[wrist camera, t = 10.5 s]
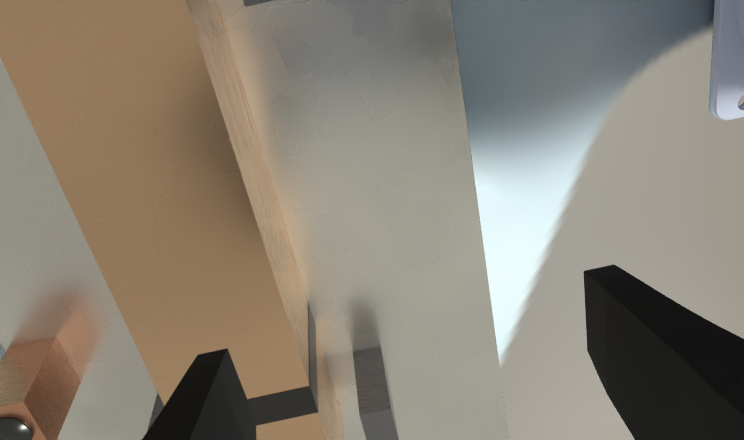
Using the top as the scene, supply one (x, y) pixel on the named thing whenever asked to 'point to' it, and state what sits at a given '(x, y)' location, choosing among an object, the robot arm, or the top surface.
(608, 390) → the robot arm
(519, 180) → the top surface
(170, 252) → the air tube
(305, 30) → the firebox plate
